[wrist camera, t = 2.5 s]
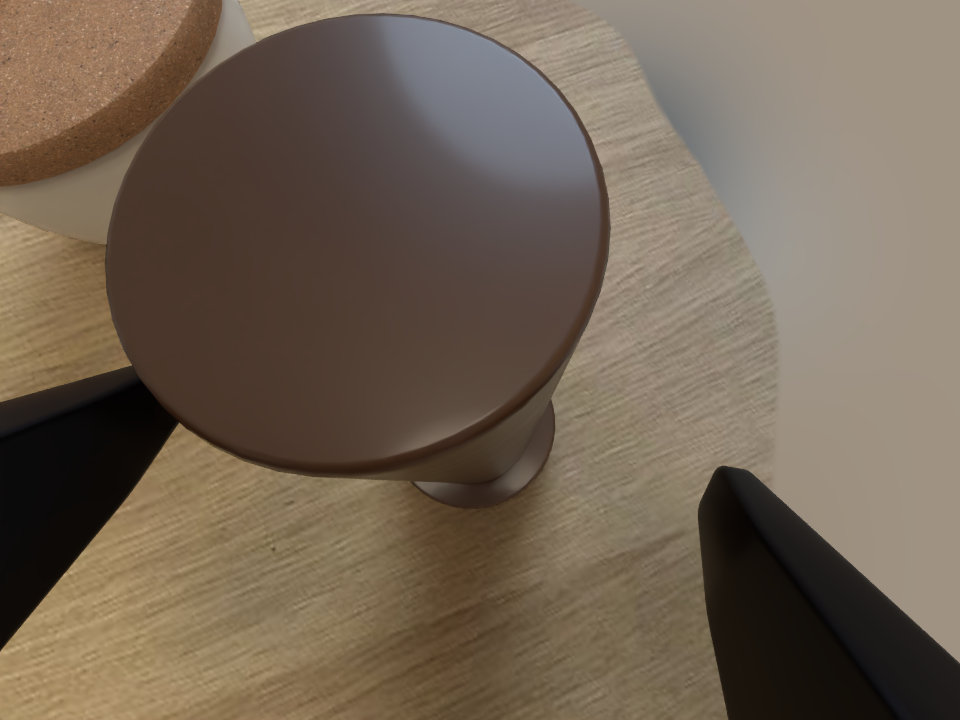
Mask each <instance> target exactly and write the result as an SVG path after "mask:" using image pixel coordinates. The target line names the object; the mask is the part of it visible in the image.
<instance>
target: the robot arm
mask: <svg viewBox="0 0 960 720" xmlns="http://www.w3.org/2000/svg"><path fill="white" fill-rule="evenodd" d="M178 423H179V421H177V420H176V419H175V418H174V417H173V416H172V415H171V414H170V413H169V412H168V411H167V410H166V409H164V408H163V407H162V406H161V404H160V403H159V402H158V401H157V399H156V398H155V397H154V395H153V394H152V393H151V392H150V390H149V389H148V388H147V387H146V385H145V384H144V383H143V382H142V380H141V379H140V378H139V376H138V375H137V373H136V371H135V369H134V368H133V366H128V367H125V368H121V369H117V370H114V371H110V372H107V373H103V374H100V375H96V376H93V377H89V378H85V379H82V380H78V381H75V382H71V383H68V384H64V385H60V386H57V387H53V388H50V389H46V390H43V391H39V392H36V393H32V394H28V395H25V396H21V397H18V398H14V399H11V400H7V401H4V402H0V651H1V650H2V648H3V647H4V646H5V645H6V644H7V642H8V641H9V640H10V639H11V638H12V636H13V635H14V634H15V633H16V631H17V630H18V629H19V628H20V627H21V625H22V624H23V623H24V622H25V621H26V619H27V618H28V617H29V616H30V615H31V613H32V612H33V611H34V610H35V609H36V607H37V606H38V605H39V604H40V602H41V601H42V600H43V599H44V598H45V596H46V595H47V594H48V593H49V592H50V590H51V589H52V588H53V587H54V586H55V584H56V583H57V582H58V581H59V580H60V578H61V577H62V576H63V575H64V573H65V572H66V571H67V570H68V569H69V567H70V566H71V565H72V564H73V563H74V561H75V560H76V559H77V558H78V557H79V555H80V554H81V553H82V552H83V551H84V549H85V548H86V547H87V546H88V544H89V543H90V542H91V541H92V540H93V538H94V537H95V536H96V535H97V534H98V532H99V531H100V530H101V529H102V528H103V526H104V525H105V524H106V523H107V522H108V520H109V519H110V518H111V517H112V515H113V514H114V513H115V512H116V511H117V509H118V508H119V507H120V506H121V505H122V503H123V502H124V501H125V500H126V498H127V497H128V496H129V494H130V493H131V492H132V491H133V489H134V488H135V486H136V485H137V484H138V482H139V481H140V479H141V478H142V476H143V475H144V473H145V472H146V470H147V469H148V468H149V466H150V465H151V463H152V462H153V460H154V459H155V457H156V456H157V454H158V453H159V451H160V450H161V448H162V447H163V445H164V444H165V443H166V441H167V440H168V438H169V437H170V435H171V434H172V432H173V431H174V429H175V428H176V426H177V425H178ZM698 524H699V535H700V546H701V557H702V568H703V580H704V591H705V601H706V609H707V616H708V622H709V627H710V632H711V637H712V642H713V647H714V652H715V657H716V661H717V666H718V671H719V676H720V681H721V686H722V691H723V695H724V700H725V705H726V710H727V715H728V720H960V663H959V662H958V661H957V660H955V658H953V657H952V656H951V655H950V654H949V653H948V652H947V651H946V650H945V649H944V648H942V647H941V646H940V645H939V644H938V643H937V642H936V641H935V640H934V639H933V638H932V637H930V636H929V635H928V634H927V633H926V632H925V631H924V630H922V628H921V627H920V626H918V625H917V624H916V623H915V622H914V621H913V620H912V619H911V618H910V617H908V615H906V614H905V613H904V612H903V611H902V610H901V609H900V608H899V607H898V606H896V605H895V604H894V603H893V602H892V601H891V600H890V599H889V598H888V597H887V596H886V595H884V594H883V593H882V592H881V591H880V590H879V589H878V588H877V587H876V586H875V585H874V584H872V583H871V582H870V581H869V580H868V579H867V578H866V577H865V576H864V575H863V574H862V573H860V572H859V571H858V570H857V569H856V568H855V567H854V566H853V565H852V564H851V563H849V562H848V561H847V560H846V559H845V558H844V557H843V556H842V555H841V554H840V553H839V552H837V551H836V550H835V549H834V548H833V547H832V546H831V545H830V544H829V543H828V542H826V541H825V540H824V539H823V538H822V537H821V536H820V535H819V534H818V533H817V532H816V531H814V530H813V529H812V528H811V527H810V526H809V525H808V524H807V523H806V522H805V521H803V520H802V519H801V518H800V517H799V516H798V515H797V514H796V513H795V512H794V511H792V510H791V509H790V508H789V507H788V506H787V505H786V504H785V503H784V502H783V501H782V500H780V499H779V498H778V497H777V496H776V495H775V494H774V493H773V492H772V491H771V490H770V489H768V488H767V487H766V486H765V485H764V484H763V483H762V482H761V481H760V480H759V479H758V478H756V477H755V476H754V475H753V474H752V473H751V472H749V471H747V470H745V469H740V468H734V467H728V466H720V467H718V468H717V469H716V470H715V472H714V473H713V475H712V478H711V480H710V482H709V484H708V486H707V488H706V490H705V493H704V495H703V497H702V499H701V501H700V504H699V508H698Z"/></svg>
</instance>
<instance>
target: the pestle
mask: <svg viewBox="0 0 960 720" xmlns="http://www.w3.org/2000/svg"><path fill="white" fill-rule="evenodd" d="M610 230H611V227H610V211H609V197H608V193H607V188H606V183H605V179H604V174H603V169H602V167H601V164H600V161H599V159H598V156H597V153H596V151H595V148H594V145H593V143H592V140H591V138H590V136H589V134H588V132H587V130H586V129H585V127H584V125H583V123H582V121H581V119H580V118H579V116H578V114H577V112H576V111H575V110H574V108H573V107H572V106H571V104H570V103H569V102H568V100H567V99H566V98H565V96H564V95H563V94H562V92H561V91H560V90H559V89H558V88H557V87H556V86H555V85H554V84H553V83H552V82H551V81H550V80H549V79H548V78H547V77H546V76H545V75H544V74H543V73H542V72H541V71H540V70H539V69H538V68H537V67H535V66H534V65H533V64H531V63H530V62H529V61H527V60H526V59H525V58H523V57H522V56H521V55H520V54H518V53H517V52H515V51H513V50H512V49H510V48H508V47H506V46H505V45H503V44H501V43H499V42H498V41H496V40H494V39H492V38H490V37H488V36H485V35H483V34H480V33H478V32H476V31H473V30H471V29H469V28H466V27H462V26H459V25H456V24H452V23H449V22H445V21H442V20H437V19H432V18H426V17H420V16H414V15H402V14H386V13H380V14H357V15H349V16H342V17H335V18H328V19H323V20H319V21H316V22H312V23H308V24H304V25H300V26H296V27H294V28H291V29H288V30H285V31H283V32H280V33H277V34H274V35H272V36H269V37H267V38H265V39H263V40H261V41H259V42H257V43H255V44H253V45H251V46H248V47H246V48H244V49H242V50H241V51H239V52H238V53H236V54H234V55H233V56H231V57H229V58H228V59H226V60H225V61H223V62H221V63H220V64H218V65H217V66H215V67H214V68H213V69H212V70H210V71H209V72H208V73H206V74H205V75H204V76H202V77H201V78H200V79H199V80H197V81H196V82H195V83H194V84H193V85H191V86H190V87H189V88H188V89H187V90H186V91H185V92H184V93H183V94H182V95H181V96H180V97H179V98H178V99H177V100H176V101H175V102H174V103H173V104H172V105H171V106H170V107H169V108H168V110H167V111H166V112H165V113H164V114H163V115H162V117H161V118H160V119H159V120H158V121H157V123H156V124H155V125H154V126H153V128H152V129H151V131H150V132H149V134H148V135H147V137H146V138H145V140H144V141H143V143H142V144H141V146H140V147H139V149H138V150H137V152H136V154H135V156H134V158H133V160H132V162H131V164H130V166H129V168H128V170H127V172H126V174H125V176H124V178H123V181H122V183H121V186H120V189H119V192H118V194H117V197H116V200H115V203H114V206H113V211H112V215H111V220H110V224H109V229H108V233H107V245H106V257H105V271H106V288H107V296H108V301H109V305H110V310H111V315H112V320H113V323H114V326H115V329H116V331H117V334H118V337H119V339H120V342H121V345H122V347H123V350H124V352H125V353H126V355H127V357H128V359H129V361H130V362H131V364H132V366H133V368H134V369H135V371H136V373H137V375H138V376H139V378H140V379H141V380H142V382H143V383H144V384H145V385H146V387H147V388H148V389H149V390H150V392H151V393H152V394H153V395H154V397H155V398H156V399H157V401H158V402H159V403H160V404H161V406H162V407H163V408H164V409H166V410H167V411H168V412H169V413H170V414H171V415H172V416H173V417H174V418H175V419H176V420H177V421H179V422H180V423H181V424H182V425H183V426H184V427H185V428H186V429H188V430H189V431H191V432H192V433H194V434H195V435H197V436H198V437H200V438H201V439H203V440H204V441H206V442H207V443H209V444H210V445H212V446H213V447H215V448H217V449H219V450H221V451H224V452H226V453H228V454H230V455H232V456H234V457H236V458H238V459H241V460H243V461H245V462H248V463H252V464H255V465H258V466H262V467H265V468H268V469H272V470H275V471H278V472H284V473H291V474H298V475H304V476H311V477H325V478H348V479H371V480H394V481H410V482H411V483H412V484H413V485H414V486H415V487H416V488H417V489H418V490H419V491H421V492H422V493H423V494H425V495H426V496H428V497H430V498H431V499H433V500H435V501H437V502H440V503H442V504H445V505H448V506H451V507H456V508H463V509H479V508H487V507H491V506H494V505H498V504H500V503H503V502H505V501H508V500H510V499H511V498H513V497H515V496H516V495H518V494H519V493H521V492H522V491H523V490H525V489H526V488H527V487H528V486H529V485H530V484H531V483H532V482H533V481H534V480H535V479H536V477H537V476H538V475H539V473H540V472H541V471H542V469H543V467H544V465H545V464H546V462H547V460H548V457H549V455H550V452H551V449H552V445H553V441H554V434H555V414H554V408H553V404H552V400H551V397H552V395H553V393H554V391H555V389H556V387H557V385H558V383H559V381H560V379H561V377H562V375H563V373H564V371H565V369H566V367H567V365H568V363H569V361H570V359H571V357H572V355H573V353H574V351H575V349H576V346H577V344H578V342H579V340H580V338H581V336H582V334H583V332H584V330H585V328H586V326H587V324H588V322H589V320H590V317H591V314H592V312H593V309H594V307H595V304H596V302H597V299H598V297H599V294H600V292H601V287H602V283H603V279H604V275H605V270H606V266H607V262H608V253H609V242H610Z"/></svg>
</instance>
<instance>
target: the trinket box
mask: <svg viewBox="0 0 960 720" xmlns="http://www.w3.org/2000/svg"><path fill="white" fill-rule="evenodd" d="M255 43H257V42H256V39H255V36H254V34H253V32H252V29H251V27H250V24H249V22H248V19H247V17H246V14H245V12H244V10H243V8H242V6H241V4H240V2H239V0H0V213H1V214H4V215H6V216H9V217H11V218H14V219H16V220H19V221H21V222H24V223H26V224H29V225H31V226H34V227H36V228H39V229H41V230H44V231H47V232H51V233H54V234H58V235H61V236H64V237H68V238H71V239H76V240H81V241H86V242H91V243H98V244H105V245H107V233H108V229H109V224H110V220H111V215H112V211H113V206H114V203H115V200H116V197H117V194H118V192H119V189H120V186H121V183H122V181H123V178H124V176H125V174H126V172H127V170H128V168H129V166H130V164H131V162H132V160H133V158H134V156H135V154H136V152H137V150H138V149H139V147H140V146H141V144H142V143H143V141H144V140H145V138H146V137H147V135H148V134H149V132H150V131H151V129H152V128H153V126H154V125H155V124H156V123H157V121H158V120H159V119H160V118H161V117H162V115H163V114H164V113H165V112H166V111H167V110H168V108H169V107H170V106H171V105H172V104H173V103H174V102H175V101H176V100H177V99H178V98H179V97H180V96H181V95H182V94H183V93H184V92H185V91H186V90H187V89H188V88H189V87H190V86H191V85H193V84H194V83H195V82H196V81H197V80H199V79H200V78H201V77H202V76H204V75H205V74H206V73H208V72H209V71H210V70H212V69H213V68H214V67H215V66H217V65H218V64H220V63H221V62H223V61H225V60H226V59H228V58H229V57H231V56H233V55H234V54H236V53H238V52H239V51H241V50H242V49H244V48H246V47H248V46H251V45H253V44H255Z"/></svg>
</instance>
